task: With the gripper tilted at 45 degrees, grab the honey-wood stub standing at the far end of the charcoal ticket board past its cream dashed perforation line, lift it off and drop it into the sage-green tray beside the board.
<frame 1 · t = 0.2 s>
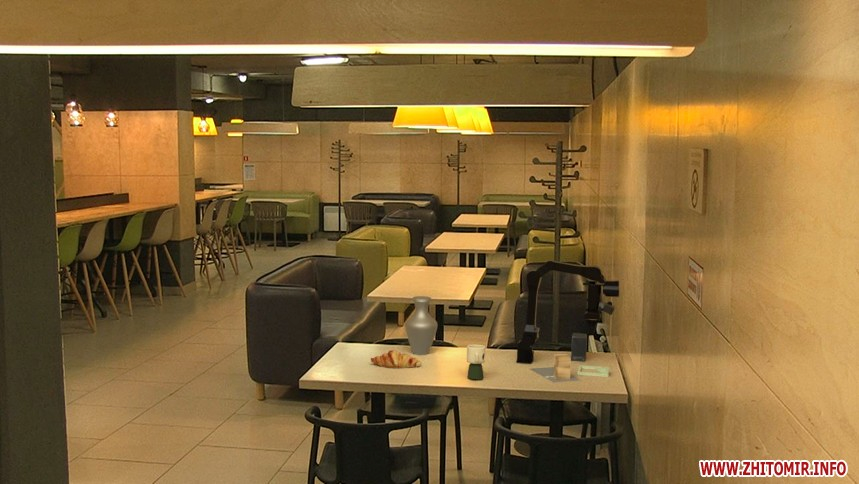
hand: (593, 332, 351), 15 cm above the table, tool pointing down, fingers open, 9 cm apart
tray: (593, 375, 338), on the table
vase: (420, 353, 371), on the table
stub: (561, 378, 327), point 1 cm above the table, touching ticket board
croissant: (396, 367, 347), on the table
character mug: (475, 379, 329), on the table
ticket board: (554, 378, 333), on the table
small box: (578, 359, 368), on the table
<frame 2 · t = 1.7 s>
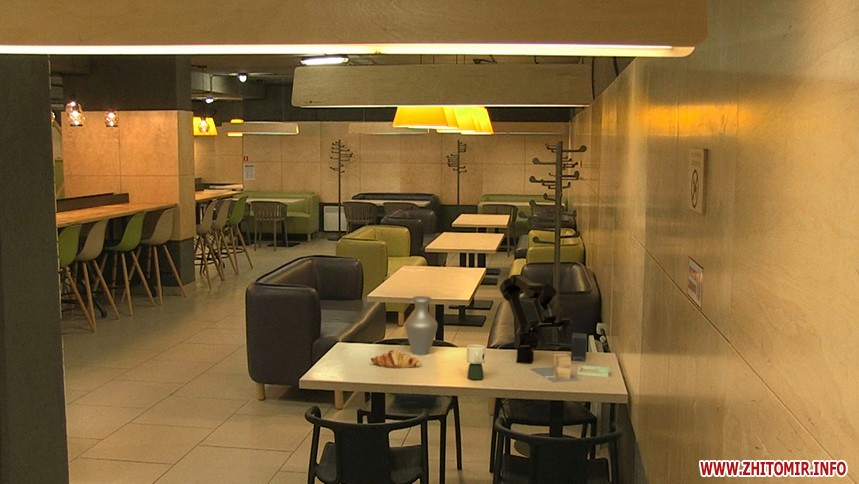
hand: (554, 343, 334), 13 cm above the table, tool tilted 45°, fingers open, 9 cm apart
nothing on the table moved.
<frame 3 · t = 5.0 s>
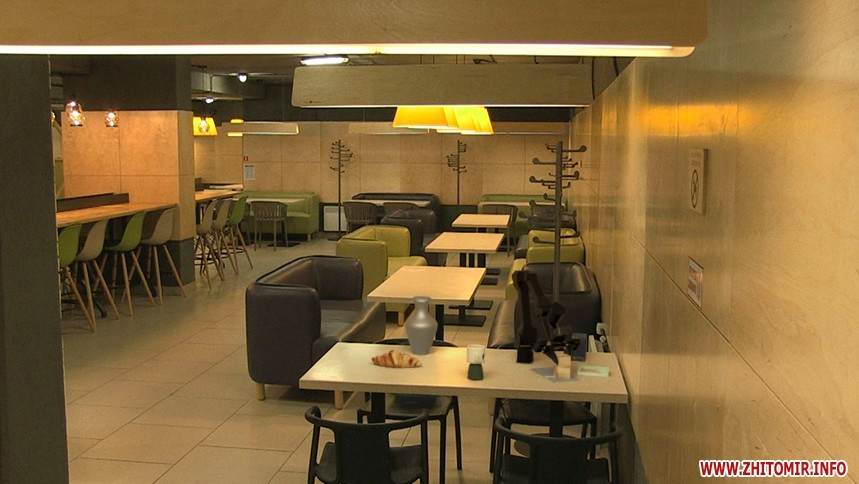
hand: (563, 363, 326), 8 cm above the table, tool tilted 45°, fingers closed on stub, 5 cm apart
stub: (561, 378, 327), point 1 cm above the table, touching gripper, ticket board
everything else where it was.
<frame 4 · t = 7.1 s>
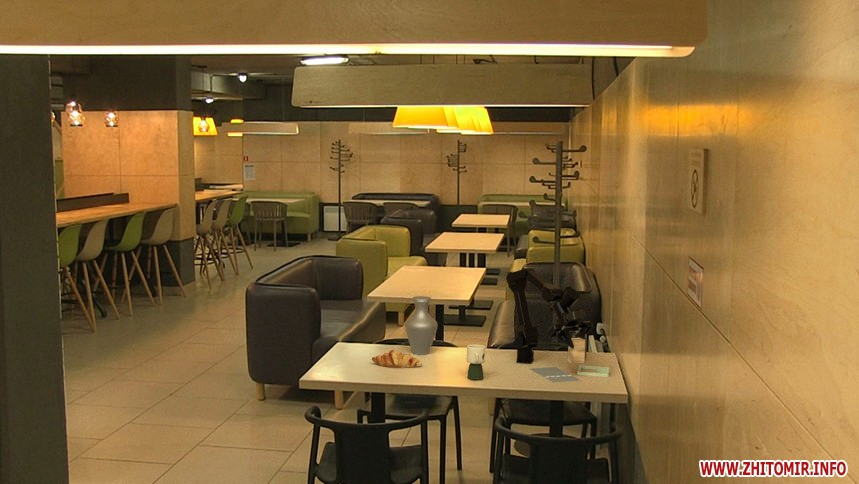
hand: (578, 347, 328), 13 cm above the table, tool tilted 45°, fingers closed on stub, 5 cm apart
stub: (576, 361, 330), point 7 cm above the table, touching gripper
everything else where it was.
when the fingers open (8 cm above the table, at t = 9.6 s): stub drops 1 cm, resting on tray.
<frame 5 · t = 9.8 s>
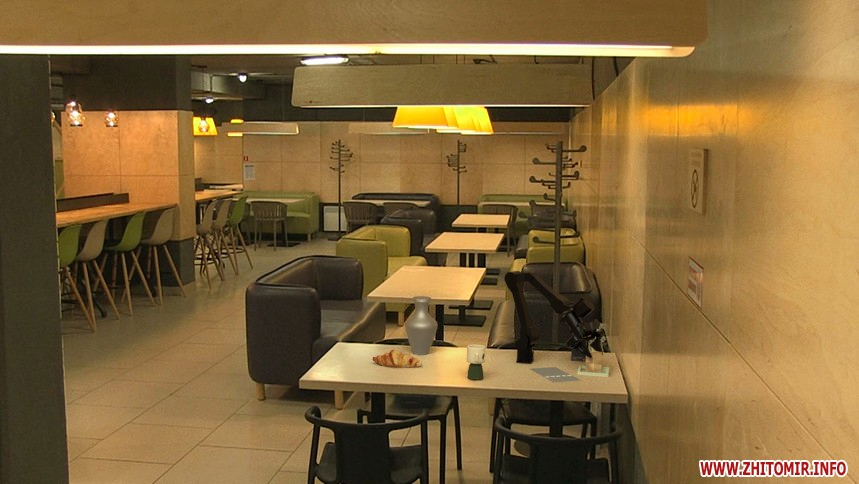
hand: (596, 356, 337), 8 cm above the table, tool tilted 45°, fingers open, 7 cm apart
stub: (593, 374, 338), point 1 cm above the table, touching tray
everything else where it was.
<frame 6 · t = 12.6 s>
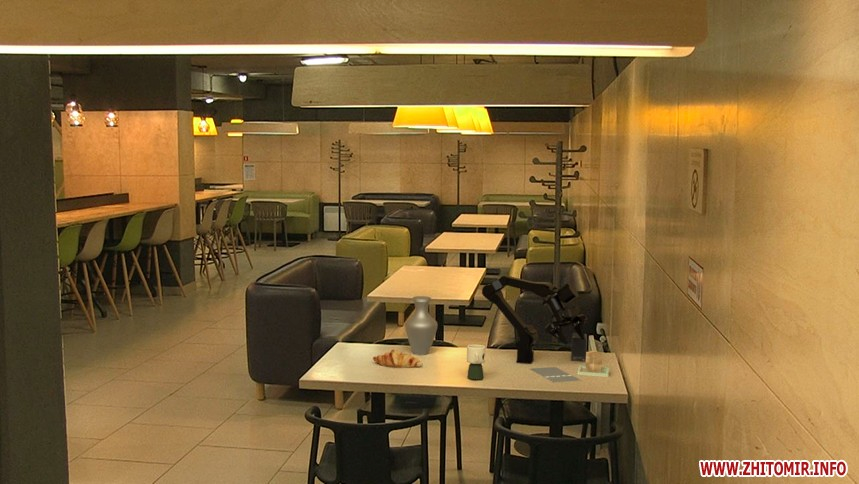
hand: (575, 342, 344), 12 cm above the table, tool tilted 40°, fingers open, 9 cm apart
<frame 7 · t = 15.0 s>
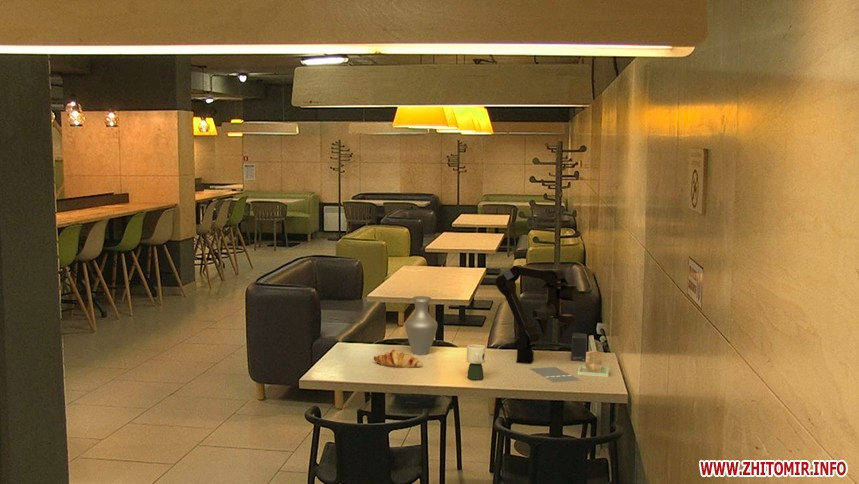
hand: (552, 336, 350), 13 cm above the table, tool pointing down, fingers open, 9 cm apart
at the end: stub inside the target area on the tray (0.0 cm from its centre), point 0.6 cm above the tray's base; stub tilted 0°; the gripper is holding nothing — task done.
